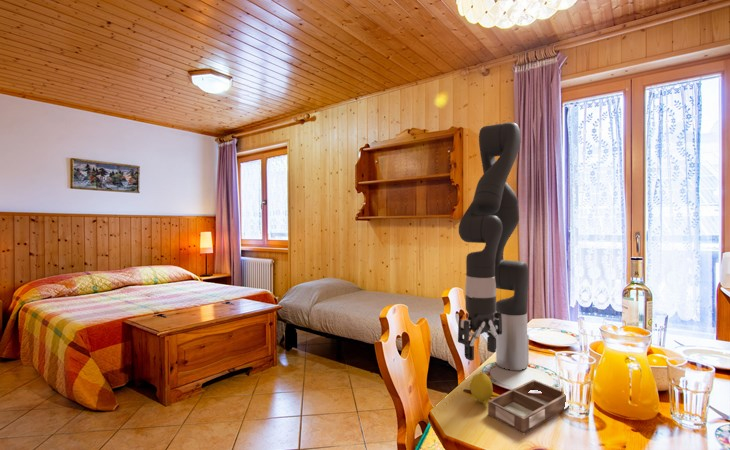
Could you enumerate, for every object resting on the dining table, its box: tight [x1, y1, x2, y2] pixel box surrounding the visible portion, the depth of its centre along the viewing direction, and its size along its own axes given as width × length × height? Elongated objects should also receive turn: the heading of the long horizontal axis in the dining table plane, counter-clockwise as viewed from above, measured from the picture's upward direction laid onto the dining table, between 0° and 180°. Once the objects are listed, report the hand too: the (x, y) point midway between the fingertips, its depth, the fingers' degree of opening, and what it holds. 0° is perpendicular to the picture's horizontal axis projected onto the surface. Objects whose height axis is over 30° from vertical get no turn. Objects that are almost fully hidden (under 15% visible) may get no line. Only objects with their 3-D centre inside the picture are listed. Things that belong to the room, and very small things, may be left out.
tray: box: [487, 379, 566, 435], centre depth 94 cm, size 19×10×4 cm, turn 124°
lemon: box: [469, 371, 494, 404], centre depth 98 cm, size 6×6×8 cm
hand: (480, 355), depth 98 cm, fingers open, 8 cm apart
